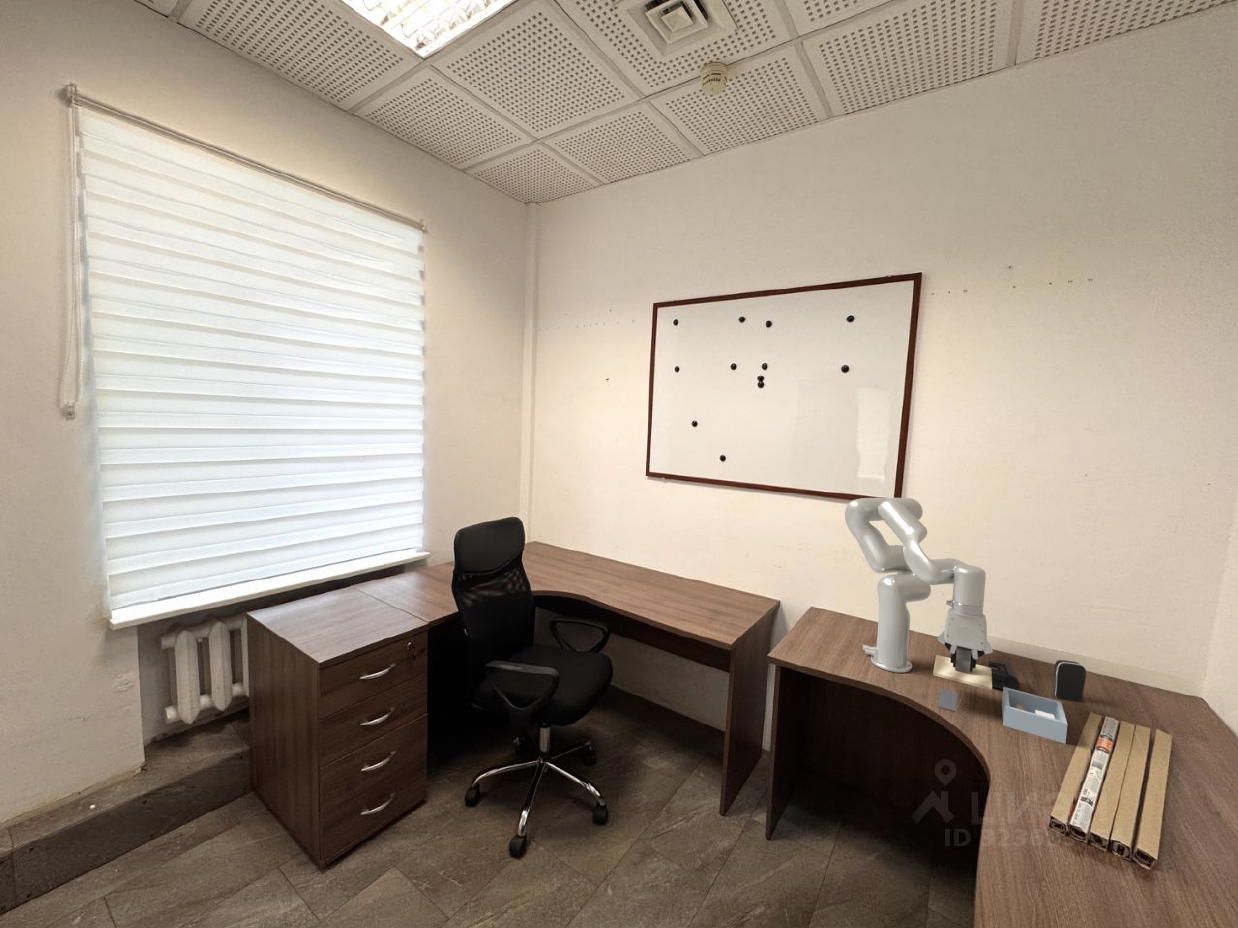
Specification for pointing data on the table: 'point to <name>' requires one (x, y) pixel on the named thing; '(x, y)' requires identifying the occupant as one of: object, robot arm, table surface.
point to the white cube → (1044, 714)
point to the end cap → (1004, 676)
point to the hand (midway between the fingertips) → (962, 667)
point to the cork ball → (1020, 707)
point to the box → (1034, 715)
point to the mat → (947, 700)
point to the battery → (1069, 680)
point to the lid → (963, 670)
